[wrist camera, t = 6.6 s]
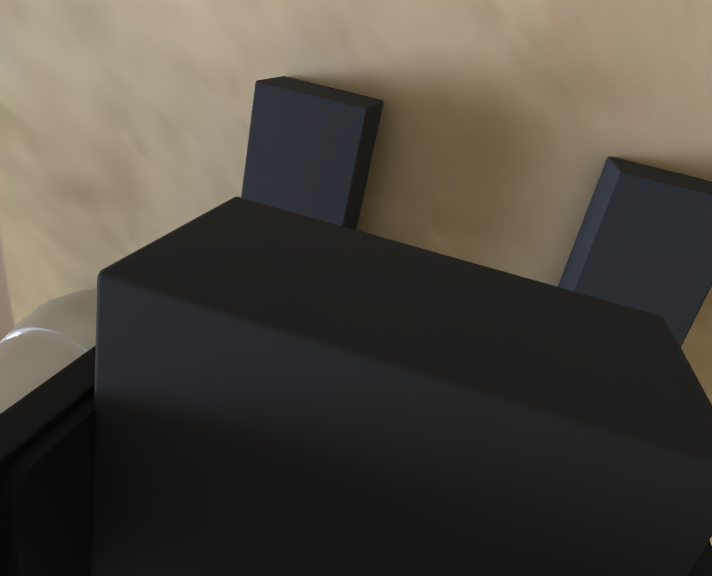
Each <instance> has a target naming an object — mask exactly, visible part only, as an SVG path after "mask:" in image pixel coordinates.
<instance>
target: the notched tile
mask: <svg viewBox="0 0 712 576" xmlns="http://www.w3.org/2000/svg"><path fill="white" fill-rule="evenodd" d="M382 106H383V101H382V100H378V99H374V98H370V97H366V96H362V95H358V94H354V93H350V92H346V91H342V90H338V89H334V88H330V87H326V86H322V85H318V84H314V83H309V82H305V81H301V80H297V79H293V78H289V77H285V76H282V77H276V78H270V79H264V80H258V81H256V84H255V92H254V100H253V108H252V116H251V124H250V132H249V140H248V148H247V156H246V164H245V172H244V180H243V188H242V196H241V198H243V199H247V200H251V201H254V202H258V203H261V204H265V205H268V206H272V207H275V208H279V209H283V210H286V211H290V212H293V213H297V214H300V215H304V216H307V217H311V218H314V219H318V220H322V221H325V222H329V223H332V224H336V225H339V226H343V227H346V228H350V229H354V230H356V227H357V222H358V218H359V213H360V208H361V204H362V199H363V194H364V190H365V185H366V180H367V176H368V171H369V166H370V162H371V157H372V152H373V148H374V143H375V138H376V134H377V129H378V124H379V120H380V115H381V110H382ZM711 286H712V182H711V181H707V180H703V179H699V178H695V177H691V176H687V175H683V174H679V173H675V172H671V171H666V170H662V169H658V168H654V167H650V166H646V165H642V164H638V163H634V162H630V161H626V160H622V159H618V158H614V157H608V158H607V160H606V163H605V165H604V168H603V170H602V173H601V176H600V178H599V181H598V184H597V186H596V189H595V191H594V194H593V197H592V199H591V202H590V204H589V207H588V210H587V212H586V215H585V217H584V220H583V223H582V225H581V228H580V230H579V233H578V236H577V238H576V241H575V244H574V246H573V249H572V251H571V254H570V257H569V259H568V262H567V264H566V267H565V270H564V272H563V275H562V277H561V280H560V283H559V285H558V287H559V288H563V289H567V290H570V291H574V292H577V293H581V294H584V295H588V296H591V297H595V298H599V299H602V300H606V301H609V302H613V303H616V304H620V305H623V306H627V307H630V308H634V309H638V310H641V311H645V312H648V313H652V314H655V315H659V316H662V317H663V318H664V319H665V320H666V322H667V324H668V325H669V327H670V329H671V331H672V333H673V335H674V336H675V338H676V340H677V342H678V344H679V346H680V348H681V346H682V344H683V342H684V340H685V338H686V336H687V334H688V332H689V330H690V328H691V326H692V324H693V322H694V320H695V318H696V316H697V314H698V312H699V310H700V308H701V306H702V304H703V302H704V300H705V298H706V296H707V294H708V292H709V290H710V288H711Z"/></svg>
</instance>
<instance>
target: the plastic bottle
mask: <svg viewBox="0 0 712 576" xmlns="http://www.w3.org/2000/svg"><path fill="white" fill-rule="evenodd" d="M96 313H97V290H83V291H79V292H75V293H71V294H68V295H65V296H62V297H59V298H56V299H53V300H50V301H48V302H46V303H45V304H43V305H41V306H39V307H38V308H37V309H36V310H34V311H33V312H32V313H31V314H29V315H28V316H27V317H26V318H25V319H23V320H22V321H21V322H20V323H18V324H17V325H16V326H15V327H14V328H13V329H12V330H11V331H10V333H9V334H8V335H7V336H6V337H5V338H4V339H3V340H2V341H1V342H0V414H1V413H2V412H4V411H5V410H6V409H8V408H9V407H11V406H12V405H13V404H15V403H16V402H17V401H19V400H20V399H22V398H23V397H24V396H26V395H27V394H29V393H30V392H31V391H33V390H34V389H36V388H37V387H38V386H40V385H41V384H42V383H44V382H45V381H47V380H48V379H49V378H51V377H52V376H54V375H55V374H56V373H58V372H59V371H61V370H62V369H63V368H65V367H66V366H68V365H69V364H70V363H72V362H73V361H74V360H76V359H77V358H79V357H80V356H81V355H83V354H84V353H86V352H87V351H88V350H90V349H91V348H93V347H94V346H95V345H96Z"/></svg>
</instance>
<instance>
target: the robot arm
mask: <svg viewBox="0 0 712 576" xmlns="http://www.w3.org/2000/svg"><path fill="white" fill-rule="evenodd" d="M95 350H96V345H95V346H94V347H93V348H91V349H90V350H88V351H87V352H86V353H84V354H83V355H81V356H80V357H79V358H77V359H76V360H74V361H73V362H72V363H70V364H69V365H68V366H66V367H65V368H63V369H62V370H61V371H59V372H58V373H56V374H55V375H54V376H52V377H51V378H49V379H48V380H47V381H45V382H44V383H42V384H41V385H40V386H38V387H37V388H36V389H34V390H33V391H31V392H30V393H29V394H27V395H26V396H24V397H23V398H22V399H20V400H19V401H17V402H16V403H15V404H13V405H12V406H11V407H9V408H8V409H6V410H5V411H4V412H2V413H1V414H0V576H90V574H91V539H92V503H93V467H94V431H95V410H94V387H95ZM687 576H712V546H711V543H710V541H708V543H707V544H706V546H705V548H704V549H703V551H702V552H701V554H700V556H699V557H698V559H697V560H696V562H695V564H694V565H693V567H692V568H691V570H690V572H689V573H688V575H687Z"/></svg>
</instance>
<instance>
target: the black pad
mask: <svg viewBox="0 0 712 576" xmlns="http://www.w3.org/2000/svg"><path fill="white" fill-rule="evenodd" d="M94 410H95V431H94V467H93V503H92V539H91V574H90V576H687V575H688V573H689V572H690V570H691V568H692V567H693V565H694V564H695V562H696V560H697V559H698V557H699V556H700V554H701V552H702V551H703V549H704V548H705V546H706V544H707V543H708V541H709V540H710V538H711V536H712V405H711V403H710V401H709V399H708V397H707V395H706V394H705V392H704V390H703V388H702V386H701V384H700V383H699V381H698V379H697V377H696V375H695V373H694V371H693V370H692V368H691V366H690V364H689V362H688V360H687V359H686V357H685V355H684V353H683V351H682V349H681V348H680V346H679V344H678V342H677V340H676V338H675V336H674V335H673V333H672V331H671V329H670V327H669V325H668V324H667V322H666V320H665V319H664V318H663V317H662V316H659V315H655V314H652V313H648V312H645V311H641V310H638V309H634V308H630V307H627V306H623V305H620V304H616V303H613V302H609V301H606V300H602V299H599V298H595V297H591V296H588V295H584V294H581V293H577V292H574V291H570V290H567V289H563V288H559V287H556V286H552V285H549V284H545V283H542V282H538V281H535V280H531V279H528V278H524V277H520V276H517V275H513V274H510V273H506V272H503V271H499V270H496V269H492V268H488V267H485V266H481V265H478V264H474V263H471V262H467V261H464V260H460V259H456V258H453V257H449V256H446V255H442V254H439V253H435V252H432V251H428V250H425V249H421V248H417V247H414V246H410V245H407V244H403V243H400V242H396V241H393V240H389V239H385V238H382V237H378V236H375V235H371V234H368V233H364V232H361V231H357V230H354V229H350V228H346V227H343V226H339V225H336V224H332V223H329V222H325V221H322V220H318V219H314V218H311V217H307V216H304V215H300V214H297V213H293V212H290V211H286V210H283V209H279V208H275V207H272V206H268V205H265V204H261V203H258V202H254V201H251V200H247V199H243V198H240V197H234V198H232V199H230V200H229V201H227V202H225V203H223V204H221V205H219V206H218V207H216V208H214V209H212V210H210V211H208V212H207V213H205V214H203V215H201V216H199V217H197V218H196V219H194V220H192V221H190V222H188V223H187V224H185V225H183V226H181V227H179V228H177V229H176V230H174V231H172V232H170V233H168V234H166V235H165V236H163V237H161V238H159V239H157V240H156V241H154V242H152V243H150V244H148V245H146V246H145V247H143V248H141V249H139V250H137V251H135V252H134V253H132V254H130V255H128V256H126V257H124V258H123V259H121V260H119V261H117V262H115V263H114V264H112V265H110V266H108V267H106V268H104V269H103V270H101V271H100V273H99V275H98V277H97V313H96V350H95V387H94Z"/></svg>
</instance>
